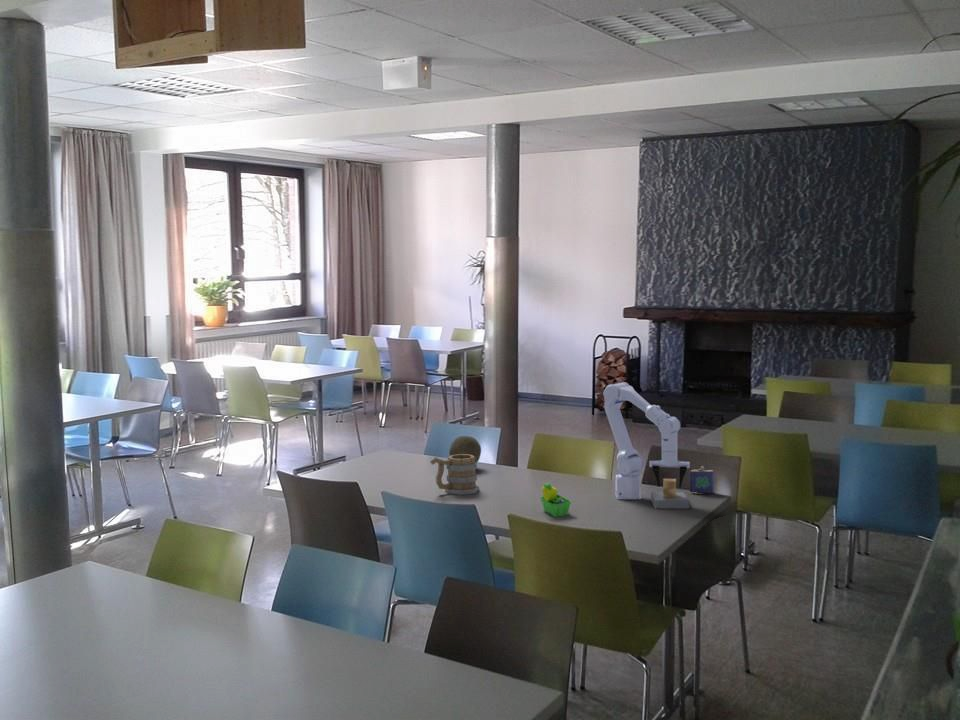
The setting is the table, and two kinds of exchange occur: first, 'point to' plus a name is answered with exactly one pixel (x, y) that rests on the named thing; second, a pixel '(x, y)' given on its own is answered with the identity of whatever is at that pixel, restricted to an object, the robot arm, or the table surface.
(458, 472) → the tankard
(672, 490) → the oak block
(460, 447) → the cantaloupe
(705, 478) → the flask
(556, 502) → the fruit basket
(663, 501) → the base block
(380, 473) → the table surface
